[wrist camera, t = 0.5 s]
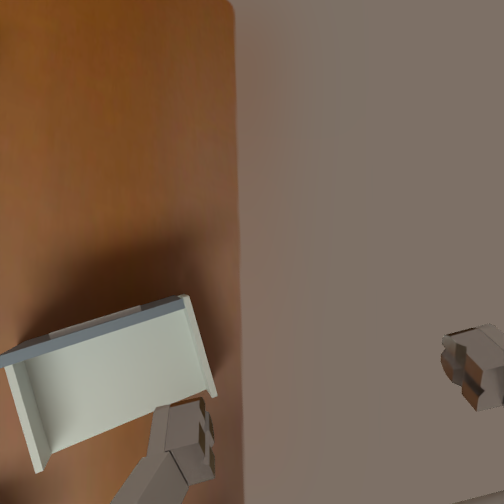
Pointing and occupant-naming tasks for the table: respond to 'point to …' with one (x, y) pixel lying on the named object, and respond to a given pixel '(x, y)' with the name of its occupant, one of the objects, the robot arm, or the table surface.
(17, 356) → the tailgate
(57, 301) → the table surface
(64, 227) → the table surface
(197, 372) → the tray
